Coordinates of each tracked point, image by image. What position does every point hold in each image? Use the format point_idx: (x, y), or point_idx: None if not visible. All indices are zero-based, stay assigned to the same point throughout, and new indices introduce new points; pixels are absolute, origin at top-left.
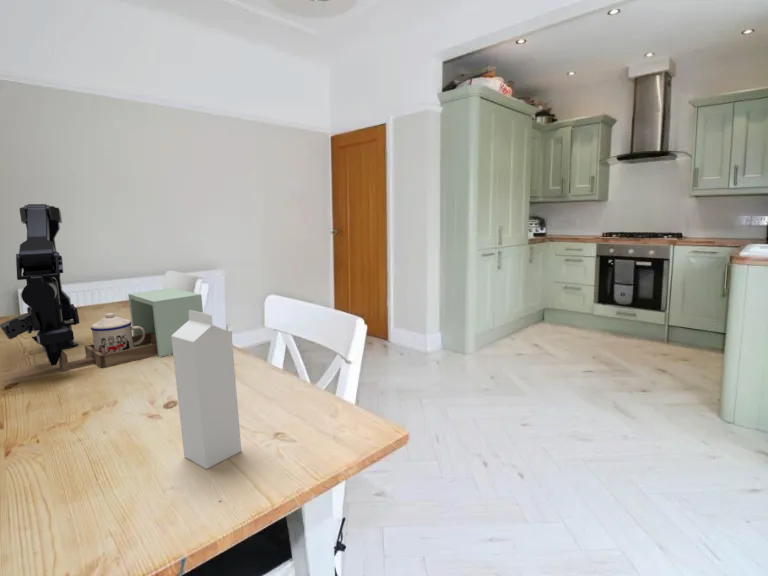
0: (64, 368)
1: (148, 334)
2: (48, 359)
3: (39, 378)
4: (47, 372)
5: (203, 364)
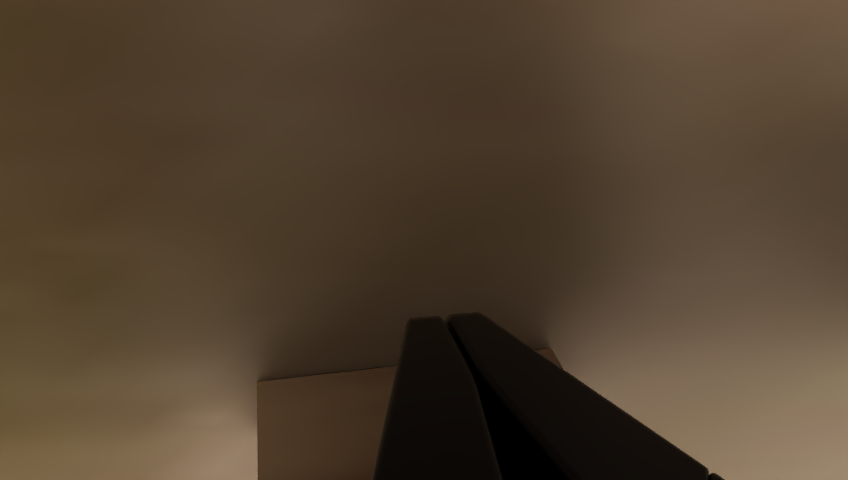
0: (258, 422)
1: None
2: (495, 373)
3: (106, 27)
4: (429, 187)
5: None
